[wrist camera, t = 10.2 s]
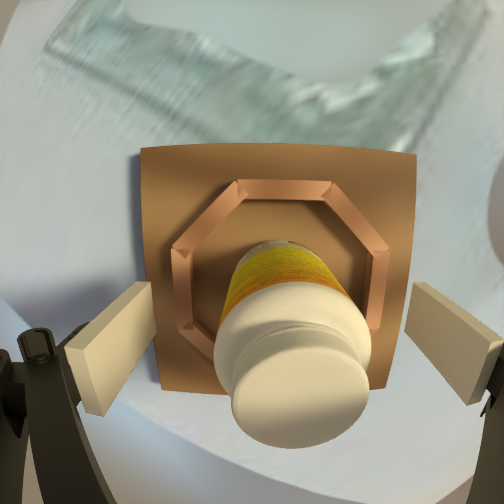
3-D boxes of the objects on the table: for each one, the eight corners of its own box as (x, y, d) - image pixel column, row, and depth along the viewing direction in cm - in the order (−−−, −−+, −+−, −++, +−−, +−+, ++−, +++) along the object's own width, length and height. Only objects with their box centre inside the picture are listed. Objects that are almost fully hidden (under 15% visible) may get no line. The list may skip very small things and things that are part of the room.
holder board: (147, 149, 17) (134, 146, 15) (407, 155, 17) (424, 153, 15) (165, 380, 21) (158, 398, 19) (380, 379, 20) (389, 396, 18)
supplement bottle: (214, 263, 17) (161, 366, 7) (304, 220, 17) (367, 278, 7) (257, 342, 18) (255, 479, 8) (341, 305, 18) (409, 422, 8)
